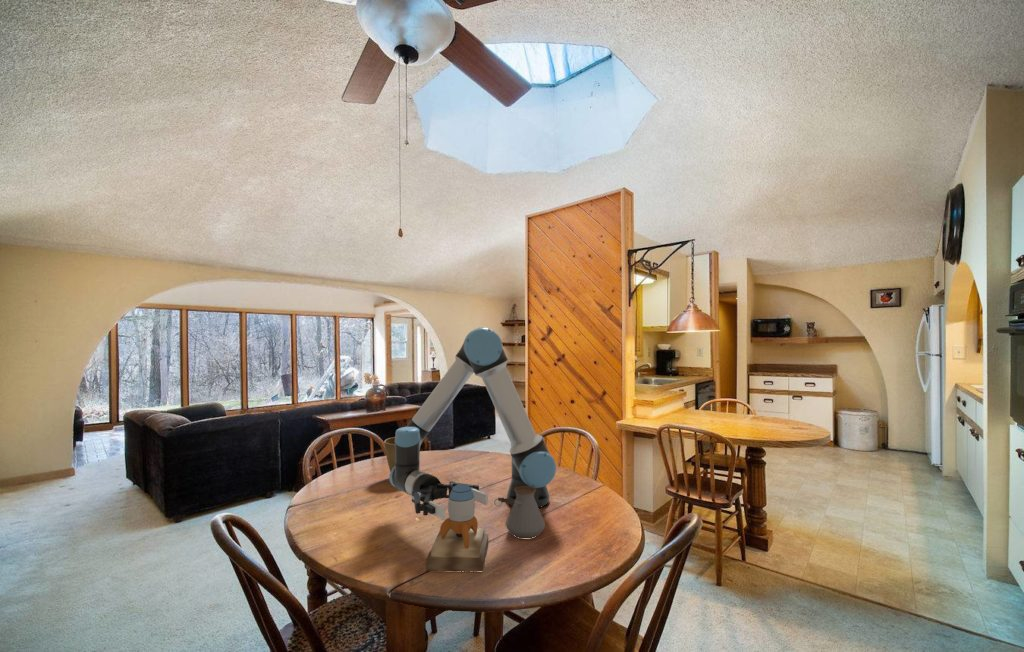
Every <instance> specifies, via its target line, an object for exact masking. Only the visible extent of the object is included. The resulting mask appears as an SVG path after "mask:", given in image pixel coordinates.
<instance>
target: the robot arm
mask: <svg viewBox="0 0 1024 652" xmlns="http://www.w3.org/2000/svg"><path fill="white" fill-rule="evenodd" d="M508 362H509V359H508V358H507V355H506V352H505V351H504V348H503V342H502V338H501V336H500V335H499V334H498V333H496V332H495V330H493V329H491V328H490V327H489V328H488V327H485V326H484V327H478V328H474V329H473V330H471V331H470V332H468V334H467V335H466V336H465V339H464V340H463V343H462V344H461V347H460V349H459V350H458V352H457V353H456V355H455V360H454V362H453V363H452V365H451V366H450V367H449V369H448V370H447V372H446V373H445V374H444V375H443V376H442V378H441V379H440V380H439V382H438V383H437V384H436V386H435V388H433V390H432V391H431V393H430V394H429V396H428V397H427V398H426V399H425V401H424V402H423V403H422V405H421V406H420V408H419V409H418V411H417V412H416V413H415V414H414V415H413V417H412V418H411V420H410V421H409V422H408V424H407V425H406V426H404V427H399V428H398V429H396V430H395V436H394V437H395V466H394V467H393V468H392V470H391V472H390V473H389V476H388V477H389V478H388V479H389V480H388V481H389V482H390V485H392V486H393V487H394V488H395V489H396V490H398V491H400V492H403V493H405V494H407V495H408V496H411V502H412V503H413V504H414V511H415V514H416V515H417V514H421V512H422V514H423V515H422V516H427V515H429V514H430V515H433V516H434V517H436V518H439V519H440V520H443V521H445V520H446V507H444V506H443V505H440V504H438V503H436V502H435V501H436V500H441V499H449V496H450V493H451V490H452V488H453V487H454V486H456V485H458V484H464V483H461V482H456V481H452V480H450V481H449V484H448V483H447V484H445V483H442V482H441V481H440V479H439V478H438V477H436V476H434V475H432V474H430V473H427V472H425V471H422V470H420V466H421V465H420V464H421V462H420V461H421V459H420V457H421V455H420V454H421V453H420V452H421V445H422V443H423V442H424V441H425V439H426V437H427V436H428V434H429V433H430V431H432V429H433V428H434V426H436V424H437V423H438V421H439V419H440V418H441V417H442V415H443V414H444V413H445V411H446V410H447V409H448V408H449V406H450V405H451V404H452V403H453V401H454V399H455V398H456V397H457V395H458V394H459V392H460V391H461V390H462V389H463V387H464V386H465V384H466V383H467V382H468V381H469V379H470V378H471V376H472V375H473V374H474V375H475V376H477V377H479V378H481V379H482V381H483V383H484V384H483V385H485V386H484V387H485V388H486V390H487V393H488V395H489V397H490V400H491V401H492V404H493V406H494V408H495V411H496V413H497V414H498V415H497V416H498V417H499V419H500V422H501V424H502V427H503V428H504V431H505V433H506V435H507V438H508V440H509V442H510V448H509V453H510V456H511V480H510V483H509V487H508V490H507V493H506V498H508V499H511V500H514V501H515V500H516V497H517V495H516V492H515V491H514V489H515V487H519V486H531V487H534V488H535V489H536V492H535V493H534V498H535V501H536V503H537V505H538V507H541V506H544V505H546V504H547V503H548V502H549V503H550V492H549V490H548V487H547V486H548V485H549V484H550V483H551V482H552V481H553V480H554V478H555V476H556V472H557V465H556V461H555V458H554V456H552V455H551V453H550V450H549V449H548V447H547V445H546V442H545V440H544V439H545V438H544V436H542V435H540V434H538V433H536V432H535V429H534V427H533V425H532V423H531V420H530V418H529V416H528V414H527V410H526V409H525V407H524V405H523V401H522V400H521V398H520V396H519V393H518V390H517V388H516V386H515V384H514V381H513V380H512V378H511V376H510V373H509V371H508V368H507V365H508ZM466 484H467V485H468V486H469V487H470V488H471V489H472V491H473V494H474V499H475V501H476V502H477V503H479V504H481V505H482V504H483V505H485V506H488V505H489V494H487V493H485V492H484V491H481V490H480V485H478V484H470V483H466ZM421 502H422V503H421ZM549 503H548V504H549ZM507 504H508V505H509V506H511V507H513V505H514V504H512V503H507ZM548 504H547V505H548ZM547 505H546V506H547ZM544 507H545V506H544ZM541 508H542V507H541Z"/></svg>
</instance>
